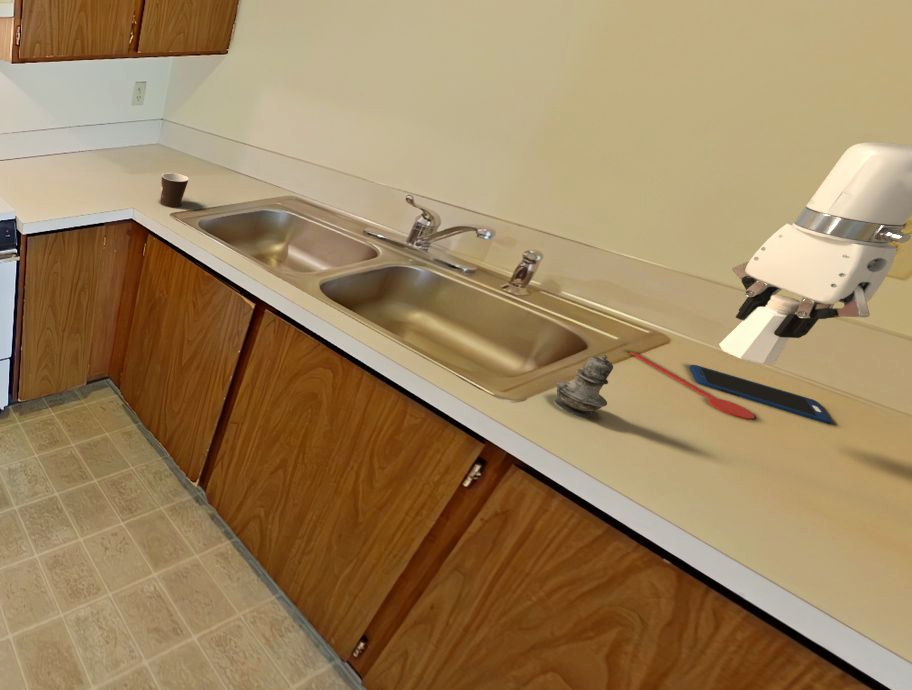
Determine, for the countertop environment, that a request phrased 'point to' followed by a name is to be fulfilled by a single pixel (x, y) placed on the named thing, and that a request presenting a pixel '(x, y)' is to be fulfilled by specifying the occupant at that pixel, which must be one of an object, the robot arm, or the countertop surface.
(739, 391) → the cell phone
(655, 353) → the countertop surface
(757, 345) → the pepper shaker
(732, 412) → the spoon
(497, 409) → the countertop surface
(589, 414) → the grey chess piece
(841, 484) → the countertop surface
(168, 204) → the coffee mug
